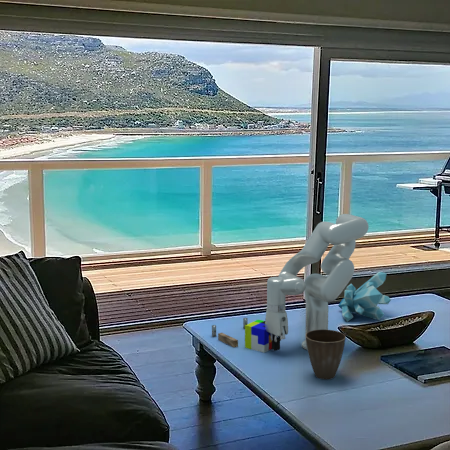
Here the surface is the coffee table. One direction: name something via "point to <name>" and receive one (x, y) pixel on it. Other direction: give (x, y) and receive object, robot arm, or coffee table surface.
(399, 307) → the coffee table surface
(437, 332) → the coffee table surface
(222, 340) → the walnut channel
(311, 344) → the plant pot
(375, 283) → the crystal cluster
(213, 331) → the slate goal posts
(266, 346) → the puzzle toy
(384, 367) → the coffee table surface
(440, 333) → the coffee table surface
